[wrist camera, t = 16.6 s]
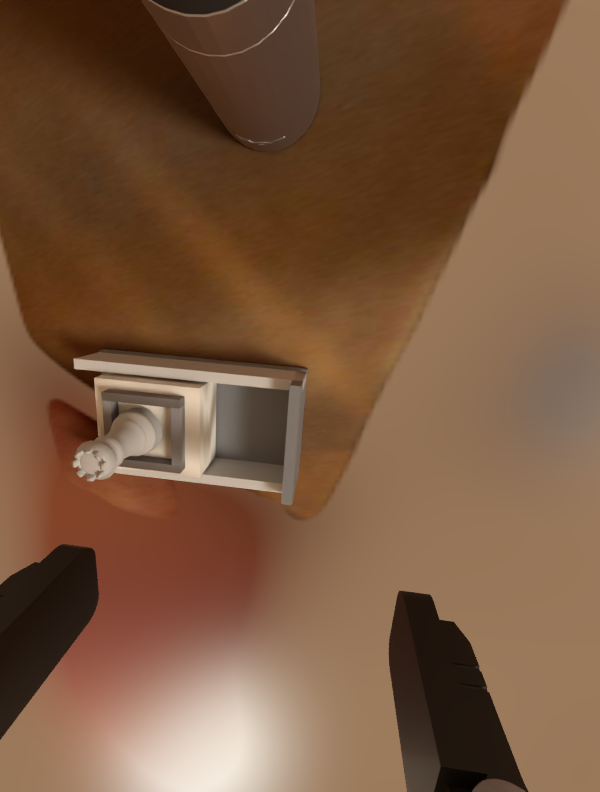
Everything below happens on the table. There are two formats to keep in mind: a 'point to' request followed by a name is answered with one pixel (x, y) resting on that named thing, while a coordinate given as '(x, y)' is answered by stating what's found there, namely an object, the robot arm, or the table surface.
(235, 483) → the crate bay
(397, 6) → the table surface
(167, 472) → the frame
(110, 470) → the rook chess piece
